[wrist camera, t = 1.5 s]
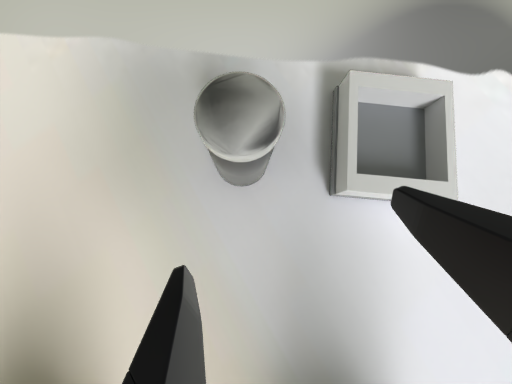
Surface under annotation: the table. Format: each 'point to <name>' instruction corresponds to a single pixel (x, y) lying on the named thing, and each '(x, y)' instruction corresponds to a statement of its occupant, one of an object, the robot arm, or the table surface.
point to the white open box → (392, 136)
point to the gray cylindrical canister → (239, 124)
